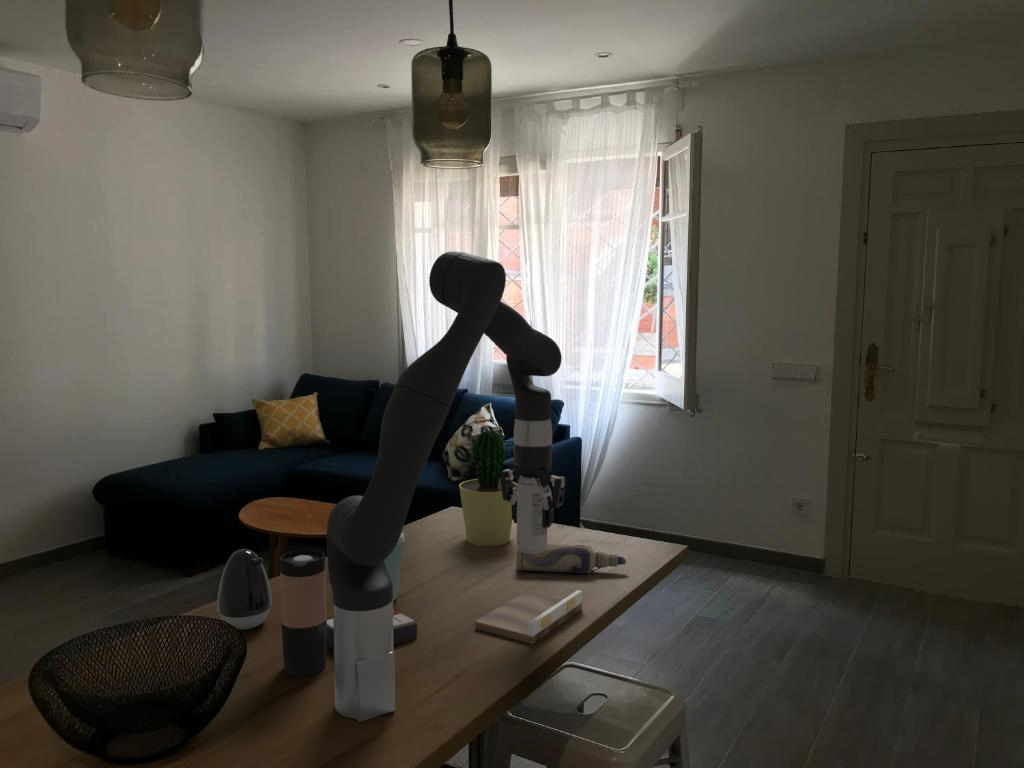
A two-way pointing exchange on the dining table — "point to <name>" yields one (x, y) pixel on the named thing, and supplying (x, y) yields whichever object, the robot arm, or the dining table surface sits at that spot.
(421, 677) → the dining table surface
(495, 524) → the potted cactus
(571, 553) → the decorative bottle
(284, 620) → the travel mug
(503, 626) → the shelf board
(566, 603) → the price rail
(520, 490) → the energy drink can
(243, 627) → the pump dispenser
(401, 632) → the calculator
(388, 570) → the disposable coffee cup
